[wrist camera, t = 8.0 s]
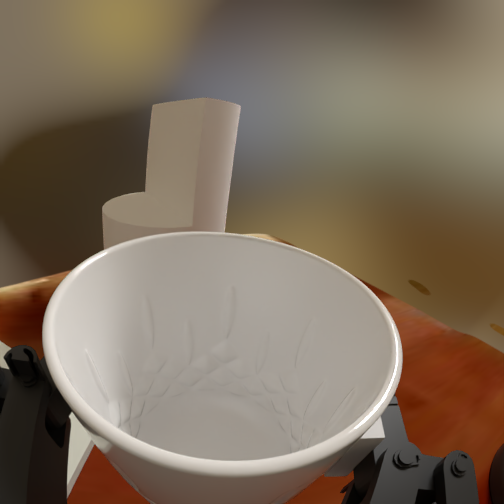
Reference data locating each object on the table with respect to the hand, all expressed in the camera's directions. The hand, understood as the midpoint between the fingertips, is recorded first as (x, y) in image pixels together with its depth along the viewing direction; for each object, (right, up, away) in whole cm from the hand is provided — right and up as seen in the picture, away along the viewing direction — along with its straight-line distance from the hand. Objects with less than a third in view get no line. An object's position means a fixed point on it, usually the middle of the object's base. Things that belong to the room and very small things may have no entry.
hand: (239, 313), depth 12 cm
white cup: (-1, -8, -2) cm, 8 cm away
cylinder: (-13, -4, +31) cm, 34 cm away
